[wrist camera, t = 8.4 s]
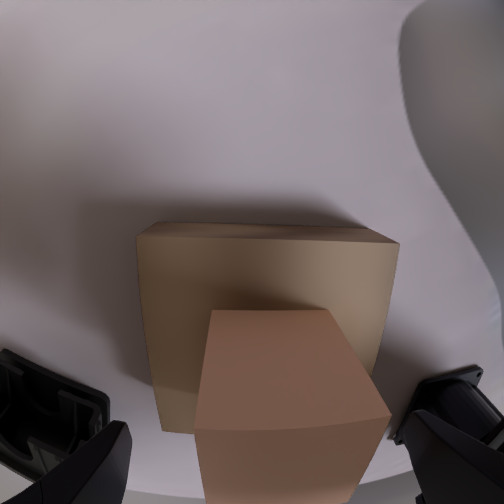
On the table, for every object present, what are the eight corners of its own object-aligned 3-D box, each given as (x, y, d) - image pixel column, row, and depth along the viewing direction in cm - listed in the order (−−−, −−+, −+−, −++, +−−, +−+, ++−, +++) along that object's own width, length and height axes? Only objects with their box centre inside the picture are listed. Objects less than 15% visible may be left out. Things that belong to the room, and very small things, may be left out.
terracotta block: (328, 309, 12) (392, 414, 6) (314, 395, 13) (347, 501, 7) (212, 309, 11) (193, 429, 6) (215, 397, 13) (207, 511, 7)
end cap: (13, 408, 17) (-23, 458, 10) (-3, 342, 15) (-56, 394, 8) (117, 454, 18) (96, 521, 11) (117, 396, 16) (82, 477, 10)
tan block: (370, 229, 14) (399, 243, 11) (339, 393, 17) (354, 427, 14) (156, 222, 13) (135, 236, 11) (171, 395, 16) (162, 431, 13)
